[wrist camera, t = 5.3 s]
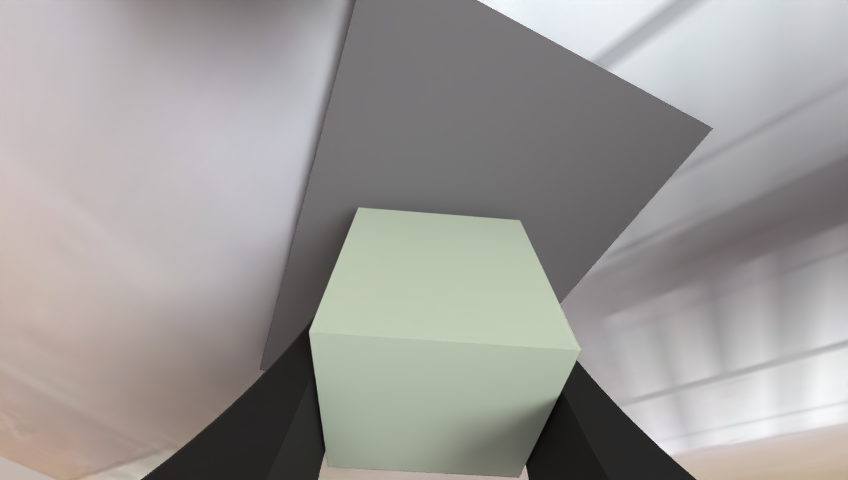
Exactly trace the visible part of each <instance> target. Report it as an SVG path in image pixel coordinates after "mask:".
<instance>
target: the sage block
mask: <svg viewBox="0 0 848 480" xmlns="http://www.w3.org/2000/svg"><path fill="white" fill-rule="evenodd" d="M309 336H310V343H311V350H312V357H313V364H314V371H315V378H316V385H317V392H318V399H319V406H320V414H321V421H322V428H323V435H324V442H325V449H326V456H327V463H328V467H335V468H353V469H371V470H390V471H408V472H426V473H444V474H463V475H481V476H499V477H518V478H519V476H520V474H521V472H522V470H523V468H524V466H525V464H526V462H527V460H528V458H529V456H530V454H531V452H532V450H533V448H534V446H535V444H536V442H537V440H538V438H539V436H540V434H541V432H542V429H543V427H544V425H545V423H546V421H547V419H548V417H549V415H550V413H551V411H552V409H553V407H554V405H555V403H556V401H557V399H558V397H559V395H560V393H561V391H562V389H563V387H564V385H565V383H566V381H567V378H568V376H569V374H570V372H571V370H572V368H573V366H574V364H575V362H576V360H577V358H578V356H579V354H580V352H581V349H580V347H579V344H578V342H577V340H576V338H575V336H574V334H573V332H572V330H571V327H570V325H569V323H568V321H567V319H566V317H565V315H564V313H563V311H562V308H561V306H560V304H559V302H558V300H557V298H556V296H555V294H554V291H553V289H552V287H551V285H550V283H549V281H548V279H547V277H546V274H545V272H544V270H543V268H542V266H541V264H540V262H539V260H538V257H537V255H536V253H535V251H534V249H533V247H532V245H531V243H530V240H529V238H528V236H527V234H526V232H525V230H524V228H523V226H522V224H521V221H520V220H511V219H499V218H486V217H473V216H461V215H448V214H436V213H423V212H410V211H398V210H385V209H372V208H360V207H358V210H357V212H356V215H355V217H354V220H353V222H352V225H351V227H350V230H349V232H348V235H347V237H346V240H345V242H344V245H343V247H342V250H341V253H340V255H339V258H338V260H337V263H336V265H335V268H334V270H333V273H332V275H331V278H330V280H329V283H328V285H327V288H326V290H325V293H324V295H323V298H322V300H321V303H320V305H319V308H318V310H317V313H316V316H315V318H314V321H313V323H312V326H311V328H310V331H309Z"/></svg>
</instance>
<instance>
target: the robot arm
mask: <svg viewBox="0 0 848 480" xmlns="http://www.w3.org/2000/svg"><path fill="white" fill-rule="evenodd" d="M315 316H316V314H315V315H314V317H313V318H312V319H311V320H310V322H309V323H308V324H307V325H306V327H305V328H304V329H303V330H302V332H301V333H300V334H299V335H298V336H297V337H296V339H295V340H294V341H293V342H292V343H291V344H290V345H289V347H288V348H287V349H286V350H285V351H284V352H283V354H282V355H281V356H280V357H279V358H278V359H277V360H276V361H275V362H274V363H273V364H272V365H271V366H270V367H269V368H268V369H267V371H266V372H265V373H264V374H263V375H262V376H261V377H260V378H259V379H258V380H257V381H256V382H255V383H254V384H253V385H252V386H251V387H250V388H249V389H248V390H247V391H246V392H245V393H244V394H243V395H242V396H241V397H240V398H238V399H237V400H236V401H235V402H234V403H233V404H232V405H231V406H230V407H229V408H228V409H227V410H225V411H224V412H223V413H222V414H221V415H220V416H219V417H218V418H217V419H215V420H214V421H213V422H212V423H211V424H210V425H208V426H207V427H206V428H205V429H204V430H203V431H201V432H200V433H199V434H198V435H197V436H196V437H194V438H193V439H192V440H191V441H190V442H188V443H187V444H186V445H185V446H184V447H182V448H181V449H180V450H179V451H177V452H176V453H175V454H174V455H172V456H171V457H170V458H169V459H167V460H166V461H165V462H164V463H162V464H161V465H160V466H158V467H157V468H156V469H154V470H153V471H152V472H150V473H149V474H148V475H146V476H145V477H144V478H142V479H141V480H318V477H319V472H320V469H321V465H322V461H323V457H324V454H325V450H326V449H325V442H324V435H323V428H322V421H321V414H320V406H319V399H318V392H317V385H316V378H315V371H314V364H313V357H312V350H311V343H310V336H309V331H310V328H311V326H312V323H313V321H314V318H315ZM526 468H527V473H528V477H529V480H696V479H695V478H694V477H693V476H692V475H690V474H689V473H688V472H687V471H686V470H685V469H684V468H682V467H681V466H680V465H679V464H678V463H677V462H675V461H674V460H673V459H672V458H671V457H670V456H669V455H668V454H667V453H665V452H664V451H663V450H662V449H661V448H660V447H659V446H658V445H657V444H656V443H655V442H654V441H653V440H652V439H651V438H649V437H648V436H647V435H646V434H645V433H644V432H643V431H642V430H641V429H640V428H639V427H638V426H637V425H636V424H635V423H634V422H633V421H632V420H631V419H630V418H629V417H628V416H627V415H626V414H625V413H624V412H623V411H622V410H621V409H620V408H619V407H618V406H617V405H616V404H615V403H614V402H613V401H612V399H611V398H610V397H609V396H608V395H607V394H606V393H605V392H604V391H603V390H602V389H601V388H600V387H599V385H598V384H597V383H596V382H595V381H594V380H593V379H592V378H591V376H590V375H589V374H588V373H587V372H586V371H585V369H584V368H583V367H582V366H581V365H580V363H579V362H578V361H577V360H576V362H575V364H574V366H573V368H572V370H571V372H570V374H569V376H568V378H567V381H566V383H565V385H564V387H563V389H562V391H561V393H560V395H559V397H558V399H557V401H556V403H555V405H554V407H553V409H552V411H551V413H550V415H549V417H548V419H547V421H546V423H545V425H544V427H543V429H542V432H541V434H540V436H539V438H538V440H537V442H536V444H535V446H534V448H533V450H532V452H531V454H530V456H529V458H528V460H527V462H526Z"/></svg>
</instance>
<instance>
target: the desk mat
mask: <svg viewBox="0 0 848 480" xmlns="http://www.w3.org/2000/svg"><path fill="white" fill-rule="evenodd" d="M712 129H713V128H711V127H710V126H708V125H706V124H704V123H702V122H700V121H699V120H697V119H695V118H693V117H691V116H689V115H687V114H686V113H684V112H682V111H680V110H678V109H676V108H675V107H673V106H671V105H669V104H667V103H665V102H664V101H662V100H660V99H658V98H656V97H654V96H652V95H651V94H649V93H647V92H645V91H643V90H641V89H640V88H638V87H636V86H634V85H632V84H630V83H628V82H627V81H625V80H623V79H621V78H619V77H617V76H616V75H614V74H612V73H610V72H608V71H606V70H605V69H603V68H601V67H599V66H597V65H595V64H593V63H592V62H590V61H588V60H586V59H584V58H582V57H581V56H579V55H577V54H575V53H573V52H571V51H570V50H568V49H566V48H564V47H562V46H560V45H558V44H557V43H555V42H553V41H551V40H549V39H547V38H546V37H544V36H542V35H540V34H538V33H536V32H534V31H533V30H531V29H529V28H527V27H525V26H523V25H522V24H520V23H518V22H516V21H514V20H512V19H511V18H509V17H507V16H505V15H503V14H501V13H499V12H498V11H496V10H494V9H492V8H490V7H488V6H487V5H485V4H483V3H481V2H479V1H477V0H356V2H355V6H354V10H353V14H352V17H351V21H350V25H349V29H348V33H347V37H346V40H345V44H344V48H343V52H342V56H341V60H340V63H339V67H338V71H337V75H336V79H335V83H334V86H333V90H332V94H331V98H330V102H329V106H328V109H327V113H326V117H325V121H324V125H323V129H322V132H321V136H320V140H319V144H318V148H317V152H316V155H315V159H314V163H313V167H312V171H311V175H310V178H309V182H308V186H307V190H306V194H305V198H304V201H303V205H302V209H301V213H300V217H299V221H298V224H297V228H296V232H295V236H294V240H293V244H292V247H291V251H290V255H289V259H288V263H287V267H286V270H285V274H284V278H283V282H282V286H281V290H280V293H279V297H278V301H277V305H276V309H275V313H274V316H273V320H272V324H271V328H270V332H269V336H268V339H267V343H266V347H265V351H264V355H263V359H262V362H261V366H260V370H264V371H267V369H268V368H269V367H270V366H271V365H272V364H273V363H274V362H275V361H276V360H277V359H278V358H279V357H280V356H281V355H282V354H283V352H284V351H285V350H286V349H287V348H288V347H289V345H290V344H291V343H292V342H293V341H294V340H295V339H296V337H297V336H298V335H299V334H300V333H301V332H302V330H303V329H304V328H305V327H306V325H307V324H308V323H309V322H310V320H311V319H312V318H313V317H314V315H315V314H316V313H317V310H318V308H319V305H320V303H321V300H322V298H323V295H324V293H325V290H326V288H327V285H328V283H329V280H330V278H331V275H332V273H333V270H334V268H335V265H336V263H337V260H338V258H339V255H340V253H341V250H342V247H343V245H344V242H345V240H346V237H347V235H348V232H349V230H350V227H351V225H352V222H353V220H354V217H355V215H356V212H357V210H358V207H360V208H372V209H385V210H398V211H410V212H423V213H436V214H448V215H461V216H473V217H486V218H499V219H511V220H520V221H521V224H522V226H523V228H524V230H525V232H526V234H527V236H528V238H529V240H530V243H531V245H532V247H533V249H534V251H535V253H536V255H537V257H538V260H539V262H540V264H541V266H542V268H543V270H544V272H545V274H546V277H547V279H548V281H549V283H550V285H551V287H552V289H553V291H554V294H555V296H556V298H557V300H558V302H559V304H560V303H561V302H562V301H563V299H564V298H565V297H566V296H567V295H568V294H569V293H570V291H571V290H572V289H573V288H574V287H575V286H576V285H577V283H578V282H579V281H580V280H581V279H582V278H583V276H584V275H585V274H586V273H587V272H588V271H589V270H590V268H591V267H592V266H593V265H594V264H595V263H596V262H597V260H598V259H599V258H600V257H601V256H602V255H603V254H604V252H605V251H606V250H607V249H608V248H609V247H610V246H611V244H612V243H613V242H614V241H615V240H616V239H617V238H618V236H619V235H620V234H621V233H622V232H623V231H624V230H625V228H626V227H627V226H628V225H629V224H630V223H631V222H632V220H633V219H634V218H635V217H636V216H637V215H638V214H639V212H640V211H641V210H642V209H643V208H644V207H645V206H646V204H647V203H648V202H649V201H650V200H651V199H652V198H653V196H654V195H655V194H656V193H657V192H658V191H659V190H660V188H661V187H662V186H663V185H664V184H665V183H666V181H667V180H668V179H669V178H670V177H671V176H672V175H673V173H674V172H675V171H676V170H677V169H678V168H679V167H680V165H681V164H682V163H683V162H684V161H685V160H686V159H687V157H688V156H689V155H690V154H691V153H692V152H693V151H694V149H695V148H696V147H697V146H698V145H699V144H700V143H701V141H702V140H703V139H704V138H705V137H706V136H707V135H708V133H709V132H710V131H711V130H712Z"/></svg>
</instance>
